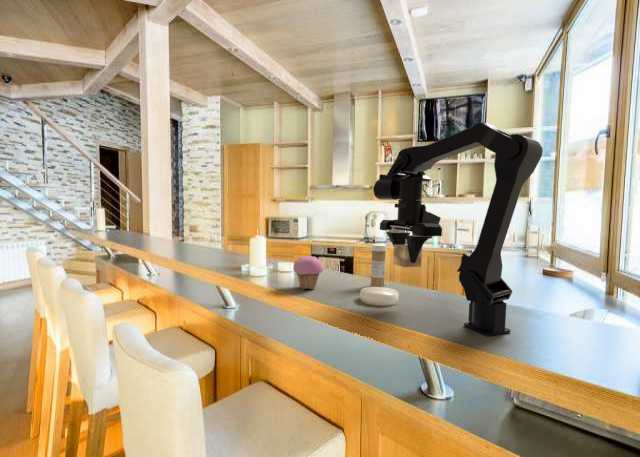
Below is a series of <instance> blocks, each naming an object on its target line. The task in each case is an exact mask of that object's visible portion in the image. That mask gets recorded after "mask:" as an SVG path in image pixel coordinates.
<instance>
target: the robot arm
mask: <svg viewBox="0 0 640 457" xmlns="http://www.w3.org/2000/svg"><path fill="white" fill-rule="evenodd" d="M481 146H482V147H484V148H486V149H487V150H489V151H490V152H492V153H494V156H495V157H494V164H493V165H494V166H493V168H494V173H495V184H494V188H493V191H492V193H491V198H490V200H489V204H488V206H487V211H486V214H485V216H484V221H483V224H482V227H481V231H480V234H479V237H478V241H477V244H476V246H475V248H474V250H473V251H472V252H467V253H463V254H462V255H461V261H460V266H459V267H458V269H457V270H456V272H457V273H458V272H459V274H458V282H459V283H460V284H461V286H462V288H463V292H464V294H465V298H466V301H467V302H468V301H469V303H468V320H467V321H468V322H464V323H463V326H465V327H466V328H469V329H472V330H473V331H476V332H477V333H480V334H482V335H485V336H496V335H501V334H507V333H511V329H510V328H508V327H506V321H507V320H506V318H507V303H506V302H504V301H506V300H510V298H511V296H512V294H513V290H512V288H511V287H510V286H509V285H508V283H506V281H505V280H504V279H503V278H502V271H503V260H502V255H501V254H502V249H503V246H504V243H505V240H506V237H507V234H508V231H509V228H510V226H511V222H512V218H513V216H514V212H515V210H516V207H517V206H516V205H517V203H518V200H519V197H520V194H521V191H522V188H523V186H524V185H525V183H526V182H527V181H528V179H530V177H531V176H532V174H533V173H534V172H535V170H536V168H537V166H538V164H539V162H540V160H541V158H542V156H543V154H544V153H543V146H542V145H541V144H540V142H539V141H537V139H533V138H532V137H528V136H525V135H521V134H518V133H512V134H510V133H507V132H505V131H503V130H500V129H498V128H496V126H495V125H492V124H490V123H486V122H484V121H483V122H482V121H480V122H477V123H474V124H473V125H472V126H470V127H468V128H465V129H463V130H461V131H458V132H456V133H453V134H451V135H449V136H446V137H443V138H442V139H439V140H437V141H434V142H432V143H430V144H427V145H425V144H424V145H417V146H411V147H405V148H402V149H400V150H399V152H398V153H397V154H398V155H397V156H396V158H395V160H394V162H393V163H392V165H391V167H390V168H389V170H388V172H387V174H379V178H378V179H377V180H376V181H375V183H374V186H373V191H372V192H373V195H374V197H375V198H376V199H377V200H381V201H382V200H383V201H384V200H386V201H387V200H390V201H392V200H394V201H395V200H396V201H398V202H397V203H394V208H397V217H396V218H397V219H382V220H381V221H380V222H379V230H380V231H386V232H385V234H386V235H387V236H388V238H389V240H390V242H391V244H392V247H393V248H394V245H408V251H409V256H410V260H411V263H415V262H416V260H417V258H418V255H419V253H420V250H421V248H422V249H423V245H424V244H425V243H426V242H427V241H428V240H430V239H432V238H433V237H442V236H443V226H441V225H440V223H441V222H440V221H441V219H442V217H441V216H438V215H436V214H434V213H432V212H429V211H427V210H426V209H427V206H426V204H425V203H424V204H423V203H422V202H423V201H422V200H423V186H424V185H423V183H428V182H429V183H430V182H431V180H432V179H431V178H430V177H429V176H428V175H427V174H426V171H428V170H429V169H431V168H432V167H433V166H434V165H435V164H436V163H438V162H441V161H443V160H446V159H449V158H451V157H453V156H456V155H459V154H462V153H464V152H467V151H471V150H473V149H476V148H478V147H481ZM411 233H412V234H411ZM410 234H411V235H410Z"/></svg>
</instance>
